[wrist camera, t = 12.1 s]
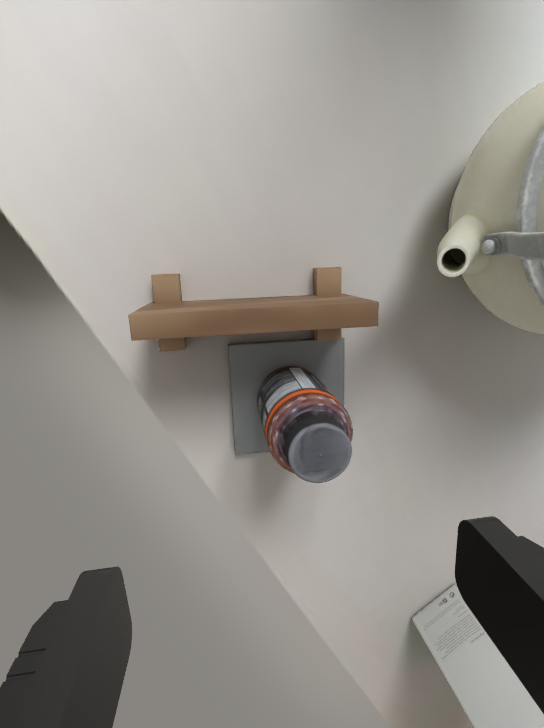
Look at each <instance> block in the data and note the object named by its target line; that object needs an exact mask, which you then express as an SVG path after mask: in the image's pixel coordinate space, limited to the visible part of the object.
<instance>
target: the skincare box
mask: <svg viewBox="0 0 544 728" xmlns="http://www.w3.org/2000/svg"><path fill="white" fill-rule="evenodd" d="M412 621H413V622H414V624H415V626H416V628H417V629H418V631H419V633H420V635H421V636H422V638H423V640H424V642H425V643H426V645H427V647H428V649H429V650H430V652H431V654H432V655H433V657H434V659H435V661H436V662H437V664H438V666H439V668H440V669H441V671H442V673H443V675H444V676H445V678H446V680H447V682H448V683H449V685H450V687H451V689H452V690H453V692H454V694H455V696H456V697H457V699H458V701H459V703H460V704H461V706H462V708H463V710H464V711H465V713H466V715H467V717H468V718H469V720H470V722H471V724H472V725H473V727H474V728H544V714H543V713H542V711H541V710H540V708H539V707H538V706H537V704H536V703H535V701H534V700H533V698H532V697H531V696H530V694H529V693H528V691H527V690H526V688H525V687H524V686H523V684H522V683H521V681H520V680H519V679H518V677H517V676H516V674H515V673H514V671H513V670H512V669H511V667H510V666H509V664H508V663H507V662H506V660H505V659H504V657H503V656H502V654H501V653H500V652H499V650H498V649H497V647H496V646H495V644H494V643H493V642H492V640H491V639H490V637H489V636H488V635H487V633H486V632H485V630H484V629H483V627H482V626H481V625H480V623H479V622H478V620H477V619H476V618H475V616H474V615H473V613H472V612H471V610H470V609H469V608H468V606H467V605H466V603H465V602H464V600H463V598H462V597H461V594H460V592H459V589H458V587H457V586H456V585H453V586H451V587H450V588H449V589H447V590H446V591H445V592H443V593H442V594H441V595H439V596H438V597H437V598H436V599H434V600H433V601H432V602H430V603H429V604H428V605H427V606H426V607H424V608H423V609H422V610H421V611H419V612H418V613H417V614H416V615H415V616H413V618H412Z"/></svg>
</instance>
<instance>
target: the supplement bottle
mask: <svg viewBox="0 0 544 728" xmlns="http://www.w3.org/2000/svg"><path fill="white" fill-rule="evenodd" d="M257 405H258V411H259V415H260V418H261V423H262V426H263V430H264V434H265V438H266V441H267V444H268V448H269V450H270V452H271V454H272V456H273V457H274V459H275V460H276V461H277V463H278V464H280V465H281V466H282V467H283V468H285V469H286V470H288V471H290V472H292V473H295V474H296V475H297V476H298V477H300V478H301V479H303V480H305V481H308V482H313V483H322V482H327V481H330V480H332V479H334V478H336V477H337V476H339V475H340V474H341V473H342V472H343V471H344V470H345V468H346V467H347V466H348V464H349V461H350V458H351V453H352V447H351V440H352V434H353V429H352V422H351V420H350V417H349V415H348V413H347V411H346V410H345V408H344V407H343V406H342V404H341V403H340V402H339V401H338V400H337V399H336V397H335V396H334V395H333V394H332V393H331V392H330V391H329V390H328V389H327V388H326V387H325V385H324V384H323V383H322V382H321V381H320V380H319V378H317V377H316V375H314V374H313V373H312V372H310V371H309V370H307V369H305V368H302V367H298V366H284V367H281V368H278V369H276V370H274V371H273V372H271V373H270V374H269V375H268V376H267V377H266V378H265V379H264V380H263V382H262V383H261V385H260V388H259V390H258V395H257Z"/></svg>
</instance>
